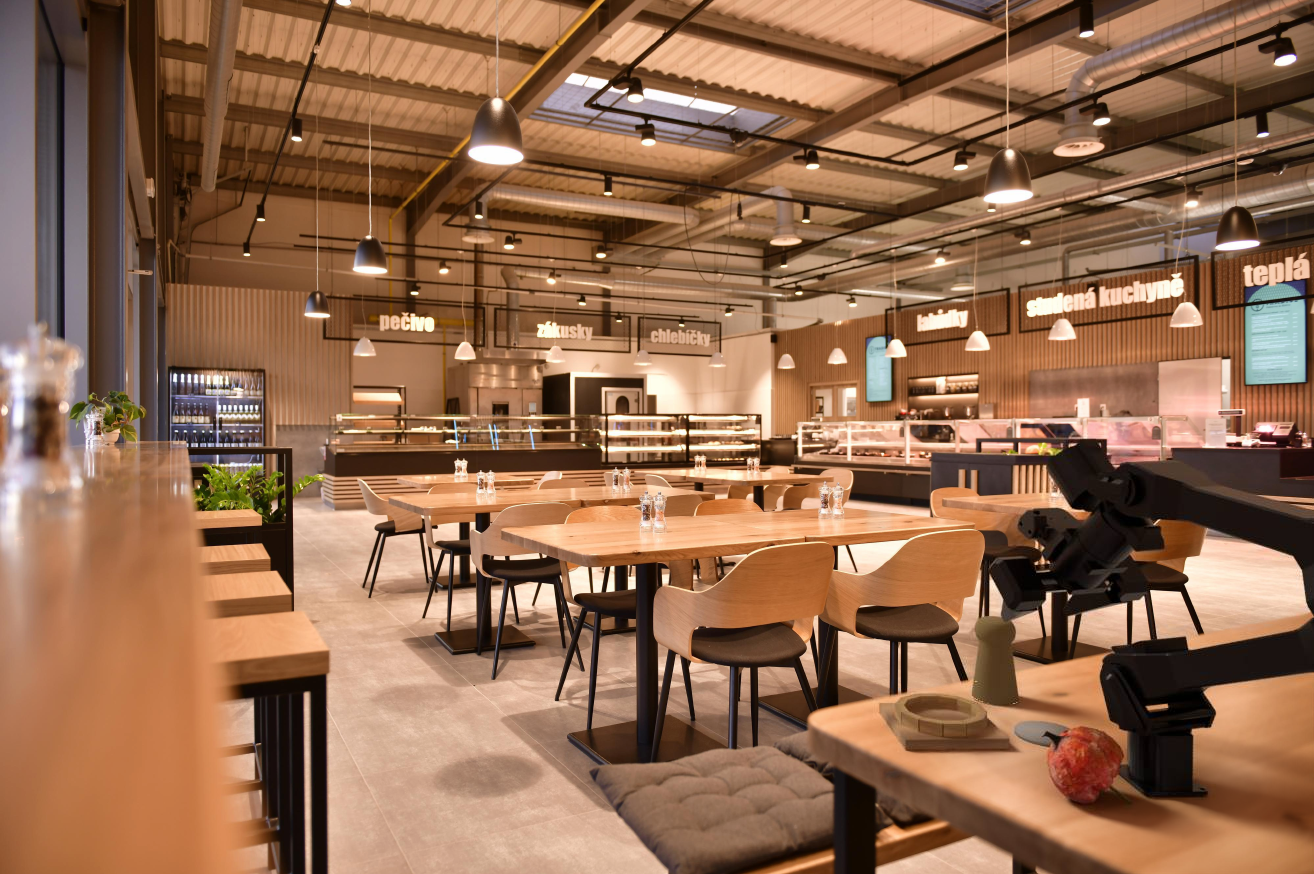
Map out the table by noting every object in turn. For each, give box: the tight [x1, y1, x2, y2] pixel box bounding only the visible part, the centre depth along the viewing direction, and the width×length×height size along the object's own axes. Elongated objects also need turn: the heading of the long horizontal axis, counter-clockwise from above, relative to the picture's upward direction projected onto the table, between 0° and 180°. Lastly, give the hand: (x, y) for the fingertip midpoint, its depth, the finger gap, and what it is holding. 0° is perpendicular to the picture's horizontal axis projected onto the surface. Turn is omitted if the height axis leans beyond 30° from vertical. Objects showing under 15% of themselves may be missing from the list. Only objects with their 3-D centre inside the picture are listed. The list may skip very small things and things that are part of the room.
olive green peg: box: [971, 615, 1020, 706], centre depth 114 cm, size 6×6×11 cm
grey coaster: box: [1013, 720, 1071, 747], centre depth 101 cm, size 7×7×1 cm
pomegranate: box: [1042, 725, 1133, 805], centre depth 85 cm, size 7×7×10 cm
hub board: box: [878, 692, 1010, 751], centre depth 103 cm, size 12×12×3 cm
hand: (1034, 615), depth 106 cm, fingers open, 9 cm apart
